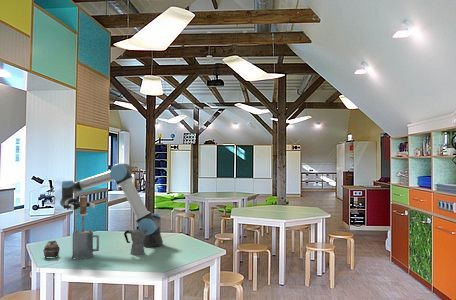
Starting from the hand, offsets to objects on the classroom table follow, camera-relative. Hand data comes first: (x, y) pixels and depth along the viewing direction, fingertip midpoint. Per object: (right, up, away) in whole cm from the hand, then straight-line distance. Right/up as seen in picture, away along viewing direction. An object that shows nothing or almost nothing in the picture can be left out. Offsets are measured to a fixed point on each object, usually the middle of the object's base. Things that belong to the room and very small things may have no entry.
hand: (83, 206), depth 249 cm
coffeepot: (+32, -33, +8) cm, 46 cm away
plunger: (-1, -17, +1) cm, 17 cm away
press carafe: (0, -32, 0) cm, 32 cm away
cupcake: (-21, -33, +1) cm, 39 cm away
